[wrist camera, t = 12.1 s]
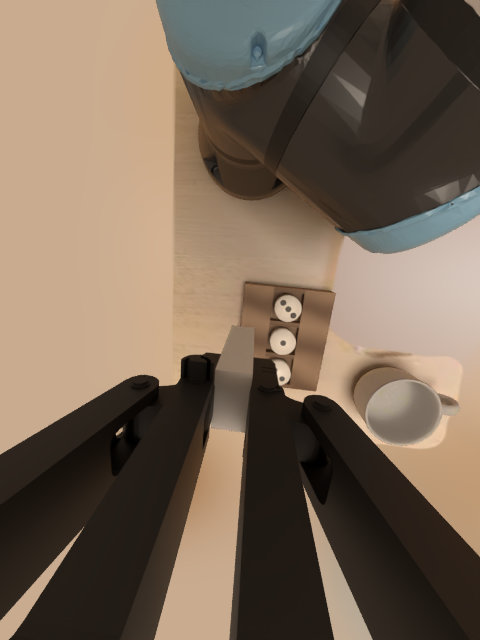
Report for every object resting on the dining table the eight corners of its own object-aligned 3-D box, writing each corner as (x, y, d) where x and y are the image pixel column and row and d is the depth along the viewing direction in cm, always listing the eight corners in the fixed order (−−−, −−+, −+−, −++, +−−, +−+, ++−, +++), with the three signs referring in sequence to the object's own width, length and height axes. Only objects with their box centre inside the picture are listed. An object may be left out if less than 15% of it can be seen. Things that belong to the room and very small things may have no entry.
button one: (271, 325, 39) (272, 329, 36) (295, 327, 39) (297, 332, 36) (268, 347, 40) (268, 353, 37) (291, 350, 40) (293, 356, 37)
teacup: (341, 409, 43) (359, 441, 36) (353, 355, 41) (376, 377, 33) (417, 418, 43) (453, 453, 35) (436, 364, 40) (478, 389, 32)
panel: (245, 282, 39) (245, 283, 36) (330, 291, 38) (335, 293, 36) (236, 374, 43) (235, 381, 41) (312, 383, 42) (315, 391, 40)
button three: (275, 292, 38) (277, 294, 35) (300, 295, 38) (303, 297, 35) (272, 316, 39) (273, 320, 36) (296, 319, 39) (299, 323, 36)
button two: (267, 355, 40) (267, 361, 38) (290, 358, 40) (292, 364, 38) (264, 376, 41) (264, 384, 39) (286, 378, 41) (288, 387, 39)
